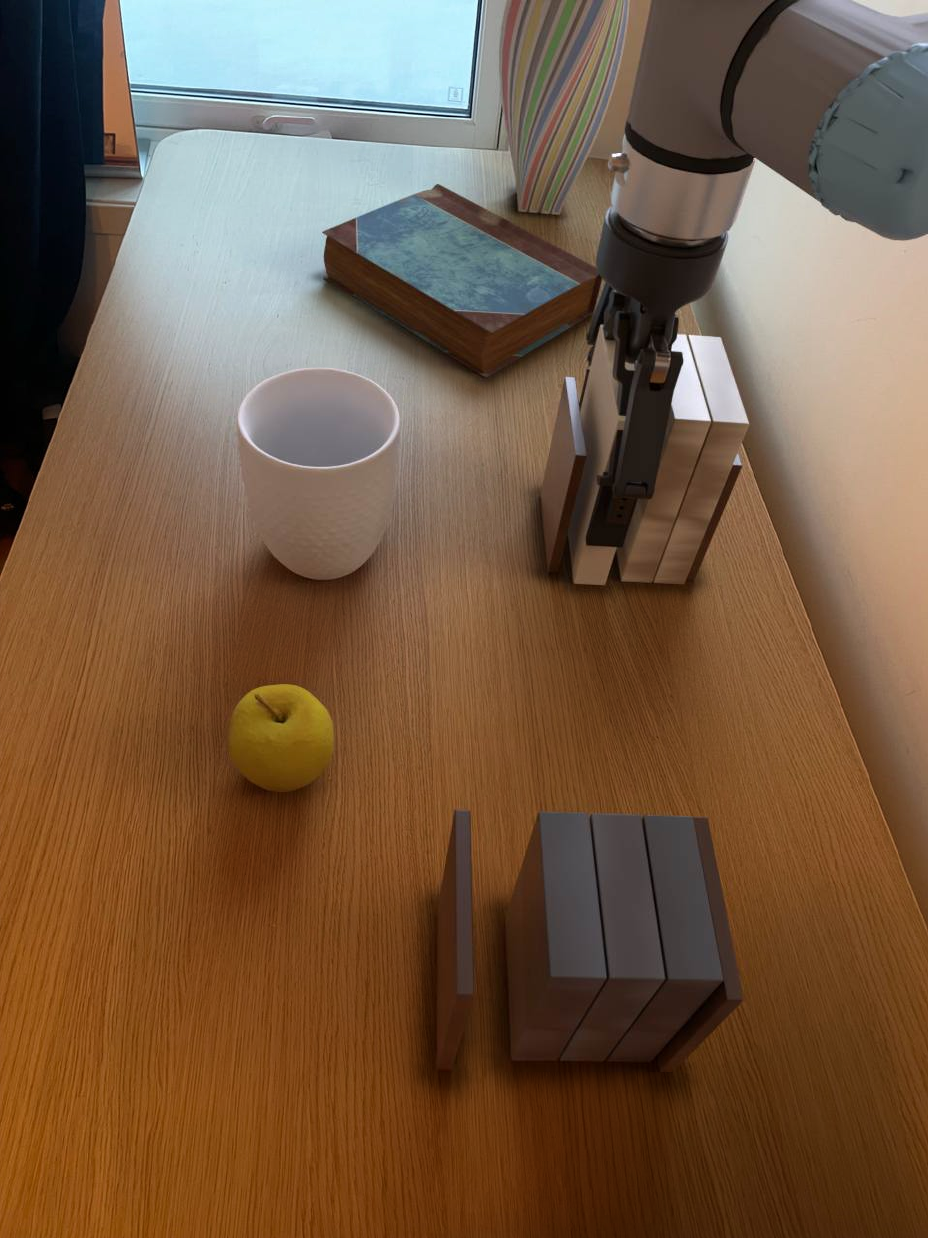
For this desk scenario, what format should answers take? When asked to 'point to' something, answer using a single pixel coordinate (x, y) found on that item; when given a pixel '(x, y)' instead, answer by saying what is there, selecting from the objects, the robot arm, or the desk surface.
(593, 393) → the cream book
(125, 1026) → the desk surface
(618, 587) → the desk surface
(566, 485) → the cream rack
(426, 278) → the book
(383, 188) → the desk surface
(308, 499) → the mug
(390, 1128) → the desk surface
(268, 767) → the apple
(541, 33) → the vase
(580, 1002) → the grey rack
